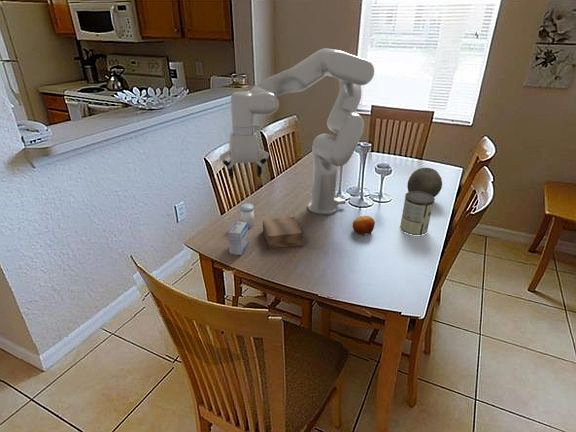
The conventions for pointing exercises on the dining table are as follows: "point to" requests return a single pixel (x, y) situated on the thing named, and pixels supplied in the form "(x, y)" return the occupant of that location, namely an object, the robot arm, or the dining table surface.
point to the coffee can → (416, 212)
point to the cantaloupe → (425, 181)
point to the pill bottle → (247, 214)
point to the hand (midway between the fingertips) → (245, 176)
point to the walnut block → (282, 232)
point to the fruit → (363, 225)
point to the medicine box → (238, 238)
